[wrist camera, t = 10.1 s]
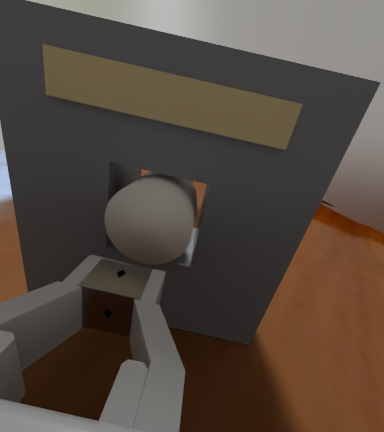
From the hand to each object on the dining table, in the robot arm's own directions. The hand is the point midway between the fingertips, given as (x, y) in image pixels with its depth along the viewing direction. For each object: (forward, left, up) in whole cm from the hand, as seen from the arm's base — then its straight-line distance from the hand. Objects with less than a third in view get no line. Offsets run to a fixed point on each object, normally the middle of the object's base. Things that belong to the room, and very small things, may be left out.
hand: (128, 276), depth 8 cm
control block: (+3, +7, -9) cm, 12 cm away
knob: (+3, +8, -2) cm, 9 cm away
